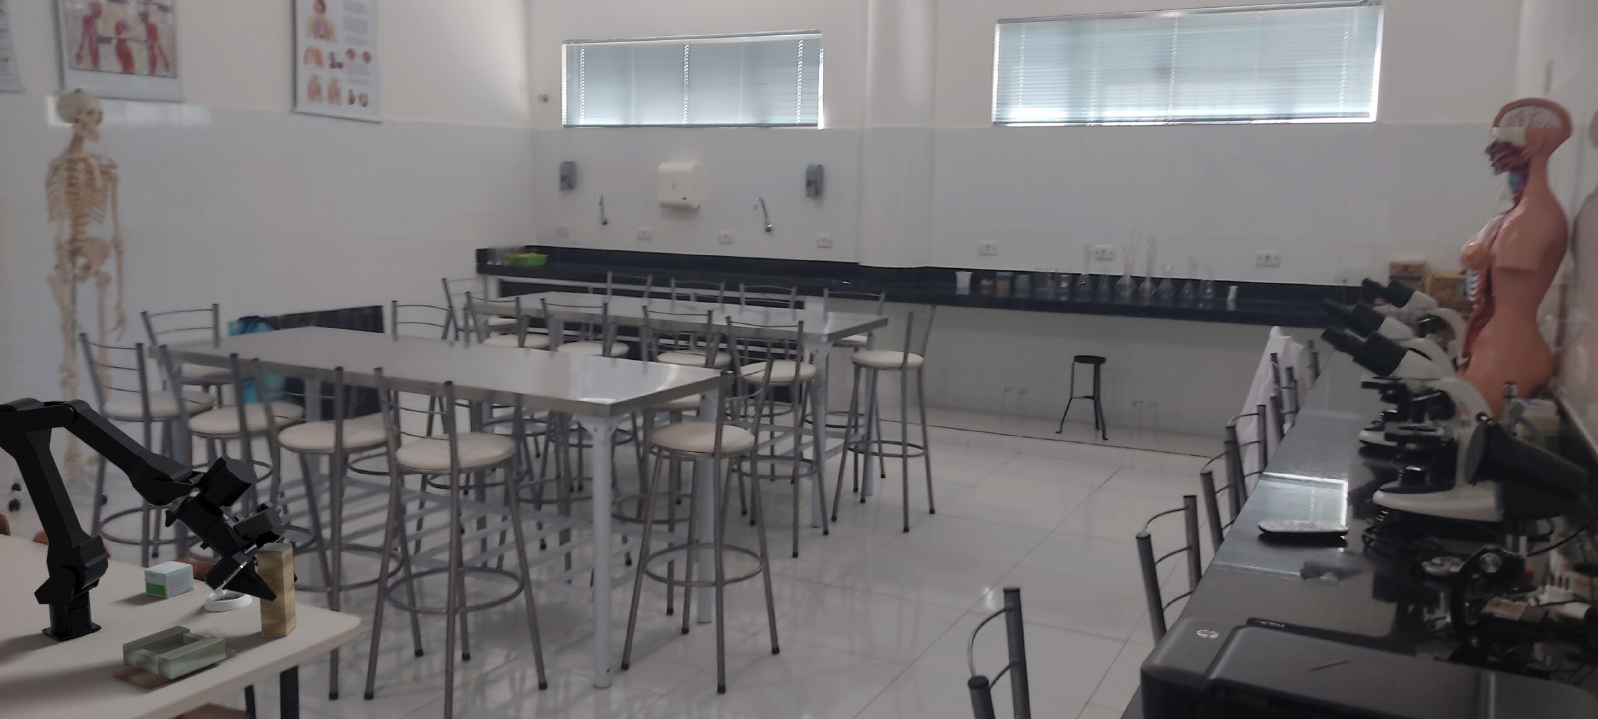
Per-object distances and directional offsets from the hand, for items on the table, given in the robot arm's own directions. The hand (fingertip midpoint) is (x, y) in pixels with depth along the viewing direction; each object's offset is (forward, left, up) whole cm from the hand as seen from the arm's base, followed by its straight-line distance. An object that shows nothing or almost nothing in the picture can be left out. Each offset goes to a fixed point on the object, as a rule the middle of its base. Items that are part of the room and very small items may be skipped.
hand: (285, 590), depth 187 cm
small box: (-34, -2, -7) cm, 35 cm away
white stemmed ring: (-20, +1, -7) cm, 21 cm away
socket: (-1, -18, -7) cm, 19 cm away
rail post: (-1, -1, -7) cm, 7 cm away
